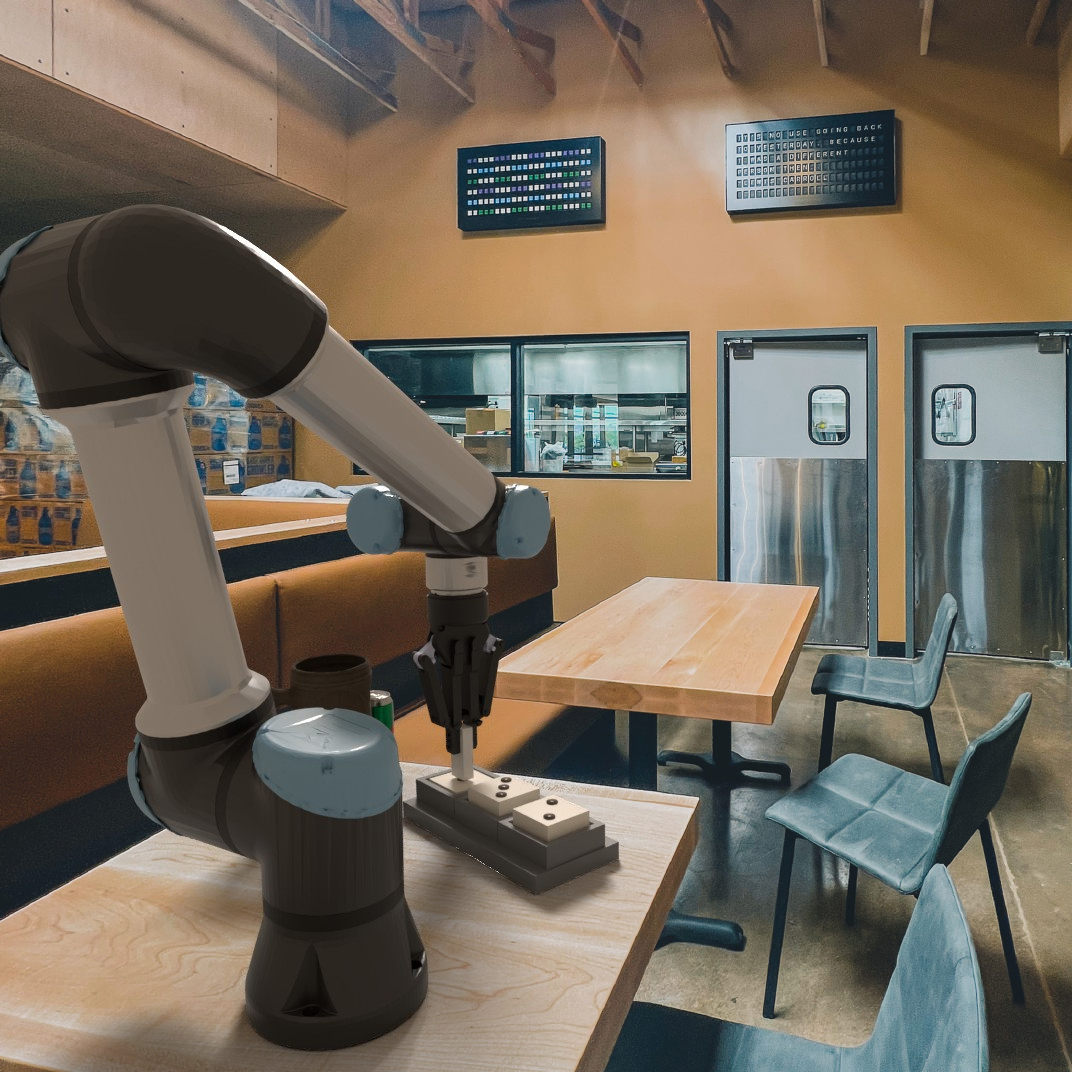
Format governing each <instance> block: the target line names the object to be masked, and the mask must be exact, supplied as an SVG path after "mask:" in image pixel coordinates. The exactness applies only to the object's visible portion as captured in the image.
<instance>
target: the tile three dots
mask: <svg viewBox="0 0 1072 1072" xmlns="http://www.w3.org/2000/svg"><path fill="white" fill-rule="evenodd" d="M540 795H541V788H540V787H538V786H536V785H533V784H531V783H529V782H526V781H525V780H522V779H520V778H517V777H516V776H513V775H511V774H509V773H508V774H504V775H501V777H498V778H495V779H492V780H488V781H485V782H482V783H479V784H476V785H472V786H469V787H468V802H470V803H472V804H474V805H476V806H478V807H480V808H482V809H484V810H486V811H488V812H490V813H492V814H494V815H496V816H498V817H500V816H503V815H505V814H508V813H511V812H513V808H516V807H519V806H522V805H525V804H528V803H531V802H534V801H536V800H539V799H540Z"/></svg>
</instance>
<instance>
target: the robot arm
mask: <svg viewBox="0 0 1072 1072" xmlns="http://www.w3.org/2000/svg"><path fill="white" fill-rule="evenodd" d="M0 352H1V353H2V355H3V356H4V357H5V358H6V359H7V361H8V362H10V363H12V364H14V365H15V366H16V367H17V368H18V369H20V370H21V371H23V373H24V374H28V375H30V376H31V379H32V383H33V386H34V390H35V393H36V396H37V399H38V403H39V406H40V410H41V413H43V415H44V416H47V417H49V418H50V419H51V420H52V419H53V420H54V421H55V422H57V423H59V424H61V425H62V426H64V428H65V427H66V428H67V429H68V431H69V433H70V435H71V438H72V442H73V445H74V449H75V452H76V456H77V459H78V462H79V466H80V469H81V472H82V476H83V480H84V483H85V486H86V490H87V494H88V497H89V500H90V503H91V507H92V510H93V511H92V512H93V515H94V518H95V521H96V524H97V527H98V531H99V536H100V537H101V541H102V545H103V549H104V552H105V555H106V559H107V561H108V565H109V568H110V573H111V575H112V579H113V583H114V586H115V589H116V592H117V596H118V600H119V604H120V607H121V610H122V614H123V616H124V620H125V623H126V627H127V630H128V634H129V637H130V642H131V644H132V648H133V651H134V655H135V658H136V662H137V665H138V669H139V672H140V675H141V679H142V682H143V686H144V688H145V692H146V696H147V697H146V698H147V699H146V700H145V701H144V703H143V704H142V706H141V707H140V709H139V710H138V712H137V713H136V714H135V719H134V720H135V721H134V722H135V728H136V731H137V733H136V735H135V737H134V739H133V742H134V743H135V744H134V748H133V749H132V750H131V751H130V752H129V753H128V758H127V769H126V771H127V781H128V782H127V783H128V788H129V790H130V793H131V796H132V797H133V800H134V802H135V803H136V805H137V807H138V808H139V809H140V811H142V813H143V814H144V816H146V817H148V818H149V819H150V821H153V822H154V823H156V824H158V825H160V826H162V827H163V828H164V829H166V830H167V831H169V832H170V833H173V834H174V835H175V836H179V837H185V838H189V839H190V840H194V841H198V842H201V843H204V844H206V845H209V846H213V847H216V848H218V849H221V850H224V851H228V852H230V853H232V854H236V855H239V856H242V857H244V858H248V859H250V860H253V861H255V862H258V863H259V866H260V872H261V873H260V874H261V877H260V878H261V891H262V892H261V894H262V912H263V913H262V919H261V923H260V926H259V930H258V933H257V937H256V941H255V943H254V948H253V951H252V955H251V958H250V962H249V966H248V968H247V972H246V977H245V982H244V984H245V985H244V995H245V1012H246V1013H245V1014H246V1017H247V1020H248V1022H249V1024H250V1025H251V1027H252V1028H253V1029H254V1031H256V1033H258V1034H259V1035H260V1036H262V1037H263V1038H264V1039H267V1040H268V1041H270V1042H272V1043H276V1044H278V1045H281V1046H284V1047H286V1048H287V1047H288V1048H292V1049H300V1050H310V1051H314V1050H331V1049H340V1048H346V1047H350V1046H355V1045H358V1044H361V1043H365V1042H367V1041H370V1040H373V1039H375V1038H377V1037H380V1036H382V1035H385V1034H386V1033H388V1032H391V1031H392V1030H393V1029H395V1028H396V1027H398V1026H400V1025H401V1024H403V1023H404V1022H405V1021H406V1020H408V1019H409V1018H410V1017H411V1016H412V1015H414V1013H415V1012H416V1011H417V1009H419V1008H420V1006H421V1004H422V1002H424V999H425V997H426V995H427V992H428V988H429V972H428V971H429V969H428V956H427V951H426V948H425V946H424V943H423V941H422V937H421V935H420V932H419V929H418V927H417V924H416V922H415V919H414V917H413V914H412V912H411V909H410V907H409V904H408V901H407V899H406V895H405V894H406V893H405V872H404V871H405V870H404V869H405V865H404V863H405V862H404V860H405V859H404V857H405V856H404V817H403V801H404V800H403V787H404V780H403V770H402V768H401V765H400V755H399V753H400V752H399V746H398V742H397V739H396V736H395V734H394V735H393V734H392V732H391V731H390V730H389V729H388V727H387V726H385V725H384V724H383V723H382V722H380V721H379V720H377V719H375V718H373V717H371V716H368V715H366V714H363V713H359V712H356V711H352V710H346V709H339V708H335V709H333V710H325V709H324V708H304V709H297V710H292V709H291V710H289V711H286V712H282V713H279V714H278V713H277V712H278V711H277V708H276V707H275V703H274V699H273V695H272V691H271V687H270V686H271V685H270V680H268V678H267V677H266V676H264V675H262V674H260V673H258V672H256V671H254V670H251V669H250V668H249V667H248V665H247V660H246V656H245V653H244V649H243V644H242V641H241V637H240V632H239V629H238V624H237V621H236V617H235V613H234V608H233V605H232V601H231V597H230V593H229V589H228V586H227V581H226V579H225V574H224V571H223V567H222V566H223V565H222V561H221V557H220V554H219V551H218V550H219V549H218V547H217V542H216V539H215V534H214V530H213V526H212V523H211V519H210V515H209V511H208V506H207V503H206V500H205V494H204V491H203V487H202V482H201V479H200V476H199V471H198V468H197V463H196V461H195V457H194V456H195V455H194V452H193V447H192V444H191V440H190V436H189V433H188V428H187V424H186V421H185V417H184V405H185V404H186V402H188V399H189V398H190V396H191V394H192V393H193V392H194V390H195V389H196V387H197V383H196V380H195V377H194V374H199V375H203V376H204V377H208V378H210V379H213V380H216V381H218V382H221V383H222V384H223V385H225V386H227V387H229V388H230V389H231V390H233V391H234V392H235V393H236V394H238V395H239V396H241V397H242V398H244V399H246V400H248V401H254V402H256V401H257V402H258V401H265V400H269V401H270V402H271V403H273V405H276V406H277V407H278V408H279V409H281V410H282V411H283V412H285V413H287V414H288V415H289V416H290V417H292V418H293V419H295V421H297V422H298V423H299V424H301V425H303V427H305V428H306V429H308V430H309V431H310V432H312V433H313V434H315V435H316V436H317V437H319V438H320V439H321V440H323V441H324V442H325V443H327V444H328V445H329V446H331V447H332V448H333V449H335V450H336V451H337V452H339V453H340V454H342V455H343V456H344V457H346V458H347V459H348V460H350V461H351V462H352V463H354V464H355V465H356V466H357V467H359V468H360V469H362V470H363V471H364V472H366V474H368V475H370V476H371V477H372V478H374V479H375V480H376V481H378V482H379V483H377V485H373V486H367V487H366V486H365V487H363V488H360V489H359V490H357V492H355V493H354V494H353V495H352V496H351V498H350V500H349V502H348V504H347V507H346V511H345V516H346V517H345V518H346V519H345V522H346V525H345V526H346V531H347V534H348V537H349V538H350V540H351V541H352V543H353V544H354V545H355V547H356V548H357V549H358V550H359V551H361V552H363V553H364V554H366V555H370V556H371V555H372V556H376V555H377V556H378V555H388V556H391V555H393V554H395V553H402V552H403V553H405V552H408V553H420V554H421V553H422V554H423V553H424V554H425V587H426V588H427V589H429V590H430V591H429V592H428V593H427V594H426V614H427V615H426V618H427V622H428V625H429V630H428V633H427V636H426V644H424V646H423V647H422V648H420V650H419V651H411V653H410V655H409V659H410V661H411V662H412V664H413V665H414V667H415V668H416V669H417V672H418V676H419V679H420V684H421V688H422V691H423V696H424V700H425V703H426V707H427V712H428V716H429V719H430V722H431V723H432V724H434V725H436V726H438V727H441V728H442V729H443V728H444V730H445V749H446V751H447V753H449V754H450V760H451V762H450V763H451V765H450V767H451V768H450V769H451V770H452V775H453V776H455V777H457V778H459V779H461V780H463V781H465V780H469V779H472V778H474V766H473V764H474V750H475V749H477V747H478V727H481V726H482V725H483V720H481V719H483V718H488V717H489V716H490V715H491V711H492V706H493V705H492V704H493V698H494V693H495V686H496V682H497V675H498V669H499V663H500V658H501V657H502V654H503V651H504V650H505V648H506V644H507V643H506V641H505V640H504V639H501V638H498V637H495V636H494V635H492V634H491V633H490V632H491V631H490V628H489V626H488V623H487V620H488V619H489V617H490V614H489V613H490V611H489V607H490V606H489V605H490V604H489V593H488V592H487V590H486V589H485V588H486V587H487V586H488V584H489V579H488V577H489V576H488V558H492V559H500V560H503V561H507V560H509V559H530V558H533V557H535V556H537V555H538V554H539V553H540V552H541V551H542V550H543V548H545V545H546V543H547V541H548V535H549V532H550V530H551V523H552V520H551V509H550V506H549V503H548V500H547V498H546V496H545V495H544V493H543V492H542V491H541V490H540V489H539V488H537V487H535V486H529V485H524V484H523V485H521V484H520V483H513V484H507V483H504V482H503V481H502V480H500V479H499V478H498V477H497V476H496V475H494V474H493V473H492V472H491V471H490V470H489V469H488V468H487V467H486V466H485V465H483V463H482V462H480V461H479V460H478V459H477V458H476V457H475V456H474V455H472V454H471V452H469V451H468V450H467V449H466V448H465V447H464V446H463V445H462V444H460V443H459V441H457V440H456V439H455V438H454V437H453V436H451V435H450V433H448V431H446V429H444V428H443V427H442V426H440V425H439V424H438V423H437V422H436V421H435V420H434V419H433V418H432V417H430V415H429V414H428V413H426V412H425V411H424V409H422V408H421V407H420V406H418V404H417V403H415V402H414V401H413V400H412V399H411V398H410V397H409V396H408V395H406V394H405V393H404V391H402V390H401V389H400V388H399V387H398V386H397V385H396V384H394V383H393V382H392V380H390V379H389V378H388V377H387V376H386V375H385V374H384V373H382V372H381V371H380V370H379V369H378V368H377V367H376V366H375V365H373V364H372V362H371V361H369V359H367V358H366V357H365V356H364V355H363V354H361V353H360V351H359V350H357V348H355V347H354V346H353V345H352V344H351V343H350V342H348V341H347V340H346V339H345V338H344V337H343V336H342V335H341V334H340V333H339V332H338V331H336V330H335V329H334V328H333V327H332V326H331V325H330V313H329V309H328V307H327V305H326V304H325V302H324V301H322V300H321V299H320V298H319V297H318V296H317V295H316V294H315V293H314V292H313V291H312V290H310V289H309V287H307V286H306V285H305V284H304V283H303V282H302V281H301V280H300V279H299V278H297V277H296V276H295V275H294V274H293V273H292V272H290V271H289V269H287V268H286V267H284V266H283V265H282V264H280V262H278V261H277V260H275V259H274V258H273V257H271V256H270V255H269V254H267V253H266V252H264V251H263V250H261V249H260V248H259V247H257V246H256V245H254V244H253V243H251V242H250V241H249V240H247V239H245V238H244V237H242V236H240V235H238V234H237V233H235V232H234V231H232V230H230V229H228V228H227V227H226V226H223V225H221V224H219V223H217V222H215V221H213V220H211V219H209V218H208V217H205V216H203V215H199V214H197V213H194V212H191V211H189V210H186V209H183V208H180V207H175V206H170V205H169V206H168V205H165V204H151V203H149V204H148V203H147V204H135V205H134V204H133V205H128V206H125V207H122V208H117V209H115V210H112V211H110V212H106V213H102V214H97V215H92V216H89V217H85V218H84V217H83V218H79V219H75V220H71V221H66V222H63V223H62V222H61V223H58V224H54V225H48V226H47V225H46V226H44V227H43V228H41V229H39V230H36V231H33V232H32V233H30V234H29V235H27V236H25V237H23V238H22V239H19V240H17V241H16V242H14V243H12V244H11V245H10V246H9V247H7V248H6V249H5V250H4V251H3V252H2V253H1V254H0ZM435 657H436V658H437V660H438V669H439V671H440V673H441V680H440V677H439V672H438V670H437V667H436V665H435V664H436V661H437V660H436V658H435Z"/></svg>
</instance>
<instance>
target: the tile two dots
mask: <svg viewBox="0 0 1072 1072" xmlns="http://www.w3.org/2000/svg"><path fill="white" fill-rule="evenodd" d="M589 817H590V810H589V809H586V808H585V807H583V806H580V805H578V804H576V803H573V802H571V801H569V800H567V799H565V798H563V797H560V796H558V795H555V794H551V795H548V796H545V798H542V799H539V800H536V801H534V802H531V803H528V804H525V805H522V806H519V807H516V808H513V825H515V826H517V827H519V828H521V829H523V830H525V831H527V832H529V833H531V834H533V835H535V836H537V837H538V838H540V839H542V840H544V841H546V842H549V841H552V840H554V839H557V838H559V837H562V836H564V835H567V834H570V833H572V832H575V831H577V830H580V829H582V828H585V827H588V826H590V821H589Z"/></svg>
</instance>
